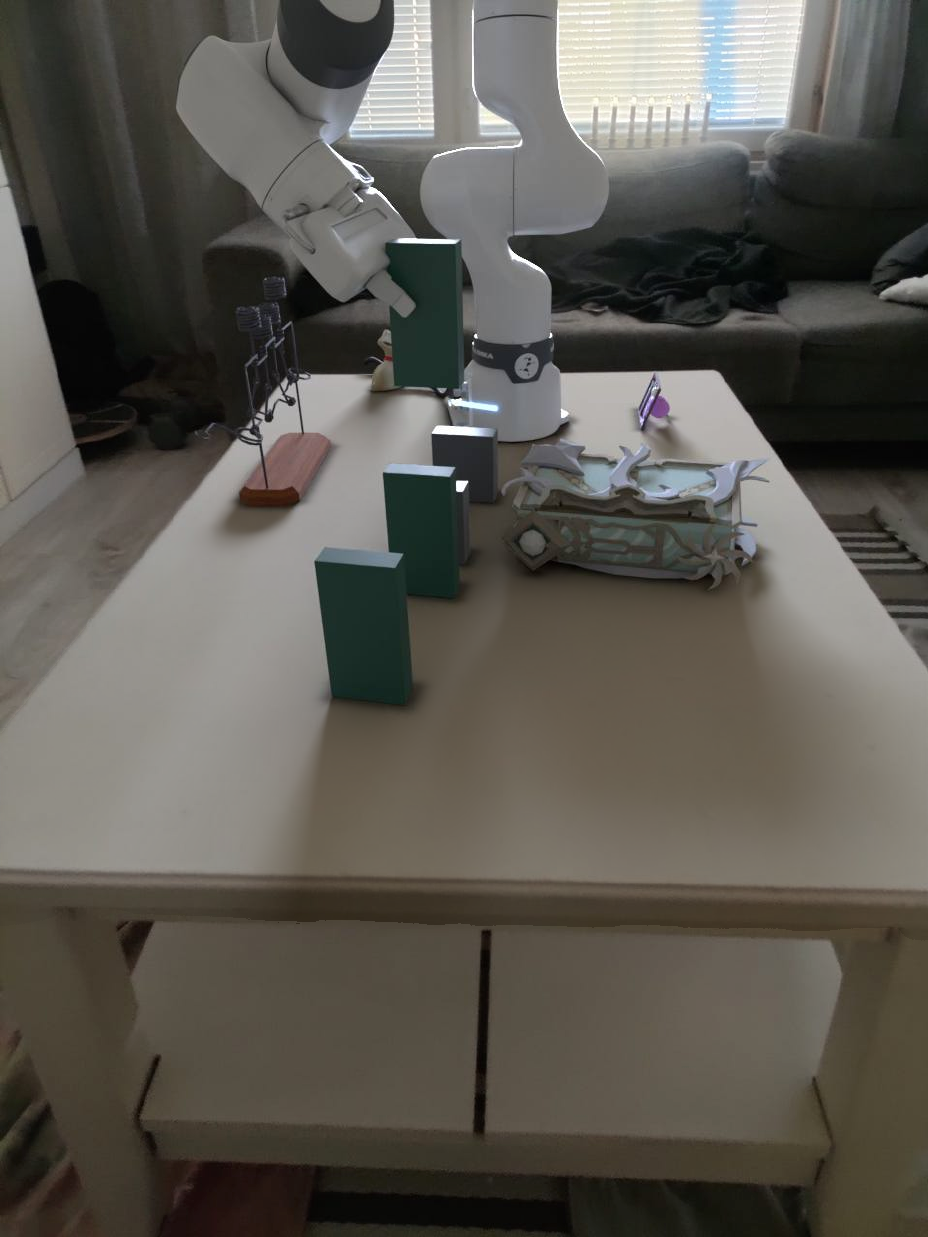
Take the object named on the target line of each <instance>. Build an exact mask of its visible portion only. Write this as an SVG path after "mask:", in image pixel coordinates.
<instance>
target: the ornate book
mask: <svg viewBox="0 0 928 1237" xmlns="http://www.w3.org/2000/svg"><path fill="white" fill-rule="evenodd" d="M619 449H620V450H621V452H622V453H623V454H624V456H623V457H622V458H620V457H619V458H618V457H614V456H613V455H609V454H604V453H603V454H602V453H601V454H599V453H583V452H584V451H585V450H586V446H585V445H583V444H579V443H577V442H573V441H571V440H567V439H564V438H562V437H559V438H558V443H557V444H549V443H545V444H536V443H535V444H534V443H531V449H530V450H529V452H528V453H527V454H526V456H525V457H524V458H523V460H522V461H521V463H520V466H521V467H519V468H520V470H519V471H520V474H521V477H517V478H514V479H512V480H509V481H507V482H506V483H505V484H504V485H503V486H502V488H501V491H500V492H501V494H502V496H503V497H505V495H506V493H507V491H508V488H509V486H511V485H513V484H515V483H520V482H522V484H521V486H520V488H519V489H518V492H517V494H516V496H515V498H514V500H513V503H512V508H513V509H514V510H516V512H517V518H516V524H514V525H511V526H510V527H509V528H508V530H506V531H505V532H504V533H503V534H502V535H501V536H500V538H499V539H500V540H501V541H502V542H503V543H504V544H505V545H506V547H507V548H508V549H509V550H510V551H511V552H513V553H514V554H515V555H516V558H518V559H519V560H520V561H521V562H522V563H523V564H524V565H525V566H527V568H529V569H530V570H531V571H532V572H534V571H535V570H537V569H539V568H540V567H542V566H543V565H544V564H546V563H547V562H549V561H552V562H553V561H554V562H558V563H563V564H568V565H569V564H570V565H574V566H578V567H580V568H583V569H588V570H593V571H596V572H601V573H606V574H611V575H614V576H615V575H616V576H625V577H626V576H627V577H633V578H636V577H637V578H646V579H686V580H690V581H698V580H699V579H702V578H703V577H705V576H707V575H711V576H712V577H713V578H714V581H713V583H712V585H711V586H710V587H709V588H708V589H707V591H710V590H712V589H714V588H717V587H718V586H719V585H720V584H721V582H722V578H723V576H726V575H728V574H731V573H732V574H733V575H734V577H735V585H736V586H737V585H738V583H739V581H740V579H741V571H740V570H739V568H738V567H737V565H736V559H738V558H743V560H742V562H741V567H743V566H744V565H746V564H747V563H749V562H751V563H752V564H754V560H753V558H754V556H755V555H756V552H757V546H756V545H757V544H756V540H755V539H754V537H753V535H752V534H751V533H750V532H749V531H747V530H745V529H743V528H741V527H740V526H745V527H755V528H757V527H758V523H757V522H754V521H752V520H751V519H749V518H747V517H744V516H743V515H742V491H741V490H742V489H741V482H744V481H749V480H753V481H758V482H765V483H770V480H769V479H766V478H765V477H761V476H758V475H751V473H753V472H754V471H755V470H757V469H758V468H759V467H762V465H764V464H765V463H767V462H768V461H770V460H771V458H761V459H753V460H745V459H744V460H741V459H740V460H734V461H732V462H724V461H723V462H722V461H720V462H719V461H699V460H698V461H697V460H687V459H679V458H660V459H657V460H651V459H650V460H649V457H650V456H651V453H652V452H651V451H652V450H651V449H650V447H649V446H647V445H646V444H643V443H641V442H640V448H639V449H638V451H637V452H636V453H635V455H634V454H633V452H632V450H631V449H630V448H628V447H625V446H622V445H619ZM523 466H524V467H525V466H527V467H528V466H529V468H528V470H527V469H525V468H524V467H523ZM735 546H737V547H740V548H741V549H742V550H739V549H735Z"/></svg>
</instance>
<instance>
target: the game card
mask: <svg viewBox="0 0 928 1237" xmlns="http://www.w3.org/2000/svg"><path fill="white" fill-rule="evenodd" d="M661 391H662V385H661V382H660V378H659V374H658V372H657V371H654V372H653V375H652V377H651V379H650V382H649V383H648V386H647V387H646V390H645V392H644V395H643V397H642V398H641V401H640V404H639V405H638V408H637V415H638V422H639V427H640V429H641V430H644V428H645V426H646V424H647V422H648V420H649V418H650V415H651V416H652V417H653V418H655V419H663V418H666V419H667V420H668V418H670V416H669V412H670V410H671V407H670V403H669V402H668V400H667V399H666V398H665V396H663V395H660V394H661ZM651 396H652V397H651Z"/></svg>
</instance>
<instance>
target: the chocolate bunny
mask: <svg viewBox="0 0 928 1237" xmlns="http://www.w3.org/2000/svg"><path fill="white" fill-rule="evenodd" d="M376 343H377V345H378V346H379V347H380V348H381V349H382V350H383V352H384V358H382V362H383V363H382V364H380V365H377V367H375V369H374V370H373V373H372V378H371V385H370V387H371V390H372V392H378V391H380V392H383V391H391V390H396V389H397V390H398V389H400V388H403V387H404V386H394V375H393V360H392V344H391V330H389V329H384V330H383V332H382V334H381V336H380V338H378V339H377V342H376Z"/></svg>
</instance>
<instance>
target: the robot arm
mask: <svg viewBox="0 0 928 1237" xmlns="http://www.w3.org/2000/svg"><path fill="white" fill-rule="evenodd" d="M471 13H472V16H471V18H472V20H471V25H472V27H471V28H472V39H471V40H472V41H471V42H472V88H473V92H474V95H475V98H476V99H477V100H478V102H479V103H480V104H481V106H482V107H483V108H485V109H486V110H487V111H489V112H491V113H492V114H494V115H496V116H497V117H499V118H501V119H502V120H505V121H506V122H508V123H510V124H512V125H513V126H514V127H516V130H518V133H519V135H520V143H519V144H518V145H514V146H497V147H496V146H495V147H492V146H491V147H465V148H460V149H456V150H452V151H447V152H444V153H441V154H436V155H434V156H433V157H432V158H431V159H430V161H429V162H428V163H427V165H426V167H425V169H424V170H423V173H422V177H421V180H420V184H419V185H420V186H419V199H420V204H421V209H422V210H423V214H424V215H425V218H426V220H427V221H428V223H429V224H430V225H431V226H432V228H433V229H435V230H436V231H437V232H438V233H440V234H441V235H442V236H443V237H445V239H460V240H461V244H462V260H463V262H464V263H465V265H466V267H467V270H468V272H469V275H470V279H471V283H472V288H473V298H474V310H475V334H474V335H473V342H472V344H471V358H472V360H471V361H470V362H469V363H468V364H467V366H466V367H464V383H463V384H462V385H461V387H460V388H459V389H448V388H445V391H442V390H441V388H429V389H431V390H432V391H433V392H434V393H435V394H437V395H438V396H439V397H440V398H448V400H447V406H446V407H447V410H448V413H449V417H450V421H451V426H455V427H473V428H491V429H498V442H511V443H512V442H528V441H533V440H539V439H543V438H546V437H548V436H551V435H553V434H554V433H556V432H557V431H558V430H559V428H560V426H562V425H564V424H565V423H568V422H569V421H570V413H569V412H567V411H566V410H563V409H562V408H563V407H562V406H563V405H562V379H561V378H562V377H561V370H560V369H559V368H558V367H557V366H556V365H554V364H553V359H554V349H555V344H554V335H553V333H551V328H552V327H551V326H552V325H551V324H552V320H551V319H552V291H553V289H552V283H551V281H550V279H549V276H548V275H547V274H546V272H545V271H544V270H543V269H542V268H540V267H539V266H537V265H535V264H534V263H532V262H530V261H528V260H526V259H524V258H522V257H520V256H518V255H517V254H516V253H514V252H513V251H512V249H511V247H510V245H509V243H508V242H509V241H508V240H509V238H510V237H514V236H540V235H541V236H543V235H549V236H551V235H564V234H568V233H573V232H578V231H582V230H585V229H589V228H592V227H593V226H594V225H595V224H596V223H597V222H598V221H599V220H600V219H601V216H602V215H603V213H604V211H605V209H606V206H607V204H608V200H609V195H610V179H609V174H608V170H607V167H606V165H605V163H604V161H603V160H602V158H601V157H600V156H599V155H598V154H597V152H596V151H595V150H593V149H592V148H591V147H590V146H588V145H587V144H586V142H584V140H582V138H581V137H580V136H579V134H578V133H577V131H576V130H575V128H574V127H573V125H572V124H571V122H570V120H569V117H568V115H567V112H566V110H565V107H564V104H563V99H562V95H561V89H560V88H561V87H560V79H559V76H560V75H559V46H558V45H559V42H558V41H559V0H472V12H471ZM394 28H395V0H278V4H277V12H276V20H275V24H274V28H273V31H272V36H271V38H269V39H266V40H261V41H256V42H233V41H228V40H224V39H222V38H220V37H218V36H216V35H209V36H207V37H205V38H203V39H201V40H200V41H199V42H198V43H197V44H196V45H195V47H194V48H193V49H192V50H191V52H190V53H189V54H188V56H187V58H186V59H185V61H184V63H183V66H182V68H181V70H180V72H179V74H178V77H177V83H176V88H175V98H174V100H175V110H176V113H177V114H178V116H179V118H180V120H181V121H182V123H183V125H184V126H185V127H186V129H187V130H188V131H189V133H190V134H191V135H192V136H193V138H194V139H195V140H196V142H197V143H198V144H199V145H200V146H201V148H202V149H203V150H204V152H206V153H207V154H208V156H209V157H210V158H211V159H212V160H213V161H214V162H215V163H216V164H217V165H218V166H219V167H220V168H221V170H222V171H224V172H225V173H226V174H227V176H228V177H230V179H233V180H234V181H235V182H238V183H239V184H241V185H242V186H243V187H244V188H246V189H247V190H248V191H249V193H250V194H251V195H252V197H253V198H254V200H255V202H256V204H257V205H258V207H259V208H260V210H261V211H263V212H264V214H265V215H266V216H267V217H268V218H269V219H270V220H271V221H272V222H273V223H274V224H275V226H277V227H278V228H279V229H280V230H281V231H282V232H283V233H284V234H285V235H286V236H287V238H289V247H290V249H291V250H292V252H293V253H294V255H295V256H296V258H297V259H298V260H299V262H300V263H301V264H302V265H303V267H304V268H305V269H306V270H307V271H308V272H309V273H310V275H311V276H312V277H313V278H314V279H315V281H317V283H318V284H319V285H320V286H321V287H322V288H323V290H325V291H326V292H327V294H329V295H330V296H331V297H332V298H334V299H335V300H337V301H338V302H341V303H345V302H347V301H349V300H350V299H352V298H354V297H355V296H357V295H358V294H360V293H362V292H363V291H365V290H368V291H369V292H370V293H371V294H372V295H373V296H374V297H375V298H376V299H378V300H380V301H381V302H382V303H385V304H387V305H388V306H389V305H390V306H392V307H393V308H394V309H395V310H396V311H397V312H398V313H399V314H400V315H401V316H402V317H404V318H405V317H408V316H409V315H410V314H411V313H412V312H413V311H414V310H415V309H416V307H417V306H418V301H417V300H416V299H415V298H414V297H413V296H412V295H411V294H410V293H409V292H408V290H407V291H404V290H403V289H402V288H400V287H399V286H398V285H397V284H396V283H394V282H393V281H392V280H391V279H392V277H391V276H390V275H389V274H388V273H387V266H388V265H389V264H390V259H389V258H388V256H387V255H386V248H385V243H386V242H388V241H390V240H392V239H417V237H416V235H415V233H414V231H413V230H412V228H411V227H410V226H409V224H407V222H406V221H405V220H404V219H403V217H402V216H401V215H400V214H399V212H398V211H397V210H396V209H395V208H394V207H393V206H392V204H391V203H390V202H389V201H388V199H387V198H386V197H385V196H384V195H383V194H382V193H381V192H380V191H378V190H377V189H376V188H374V187H371V186H372V185H373V184H374V182H375V181H374V180H375V179H374V177H373V176H372V175H371V174H370V173H369V172H368V171H367V170H366V169H365V168H364V167H363V166H361V165H359V164H356V163H354V162H351V161H349V160H346V159H345V158H343V156H341V155H340V154H339V153H337V152H336V151H335V150H334V149H333V148H332V147H331V146H332V145H334V144H335V143H337V142H338V141H339V140H340V139H342V138H343V137H344V135H345V134H346V133H347V132H349V130H350V128H351V127H352V125H353V123H354V121H355V119H356V117H357V114H358V112H359V110H360V107H361V105H362V103H363V101H364V98H365V96H366V93H367V91H368V89H369V86H370V84H371V82H372V80H373V77H374V75H375V72H376V70H377V68H379V67H378V66H379V65H380V63H381V61H382V59H383V58H384V56H385V55H386V52H387V50H388V48H389V47H390V44H391V42H392V39H393V35H394ZM370 363H374V364H376V365H377V366H379V365H380V364H382V363H383V361H381V360H380V359H379V358H376V357H374V356H370V357H367V358H365V360H364V361H363V365H364V366H368V365H369V364H370Z"/></svg>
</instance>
